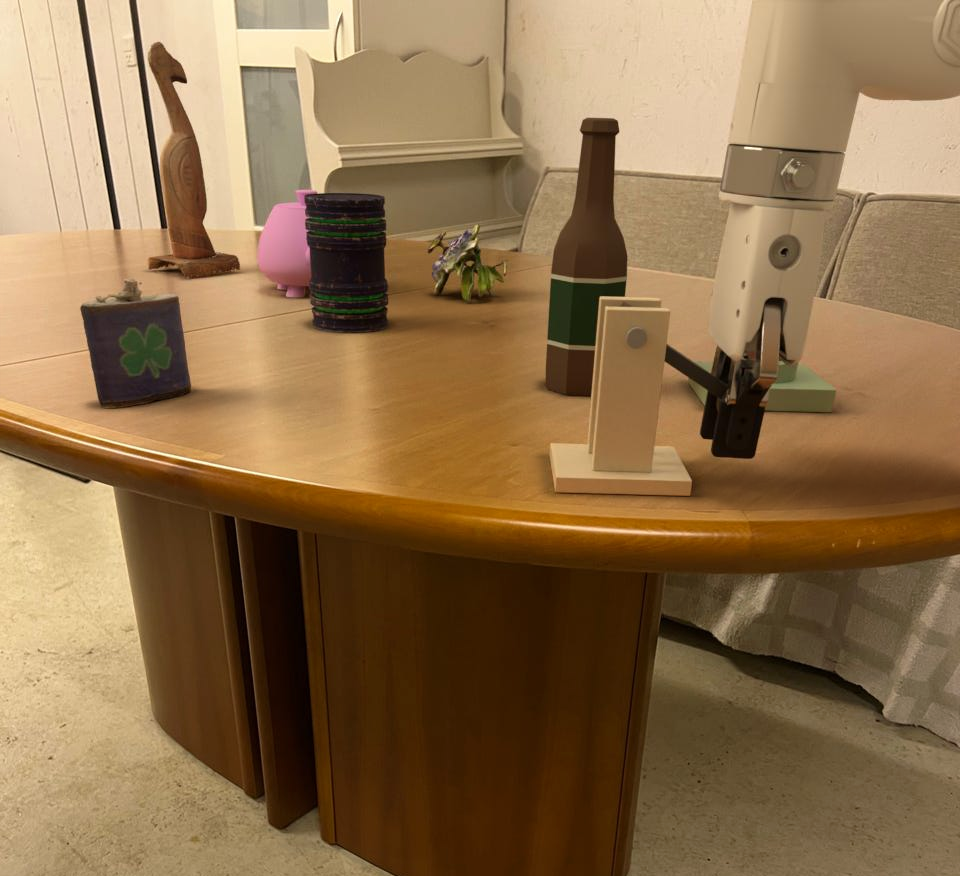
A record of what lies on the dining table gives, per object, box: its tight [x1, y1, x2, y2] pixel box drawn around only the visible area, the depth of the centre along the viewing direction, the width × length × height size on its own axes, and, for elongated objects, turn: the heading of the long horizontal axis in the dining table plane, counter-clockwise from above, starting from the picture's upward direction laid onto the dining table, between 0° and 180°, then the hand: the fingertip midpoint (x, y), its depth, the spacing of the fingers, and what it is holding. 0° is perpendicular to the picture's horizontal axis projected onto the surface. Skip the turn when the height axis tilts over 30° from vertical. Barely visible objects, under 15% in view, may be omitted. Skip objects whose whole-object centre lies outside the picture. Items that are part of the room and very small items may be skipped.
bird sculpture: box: [147, 41, 241, 279], centre depth 145 cm, size 11×12×32 cm
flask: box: [79, 278, 192, 409], centre depth 85 cm, size 9×3×11 cm, turn 136°
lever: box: [620, 302, 741, 411], centre depth 68 cm, size 13×3×3 cm, turn 89°
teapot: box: [256, 189, 318, 298], centre depth 135 cm, size 22×16×14 cm
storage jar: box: [304, 192, 389, 334], centre depth 115 cm, size 10×10×15 cm
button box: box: [687, 356, 837, 413], centre depth 92 cm, size 12×10×4 cm
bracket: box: [549, 296, 693, 497], centre depth 69 cm, size 10×8×13 cm
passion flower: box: [427, 224, 509, 304], centre depth 137 cm, size 11×11×12 cm
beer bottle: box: [545, 117, 628, 397], centre depth 89 cm, size 8×8×24 cm
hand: (726, 445), depth 70 cm, fingers closed on lever, 3 cm apart
